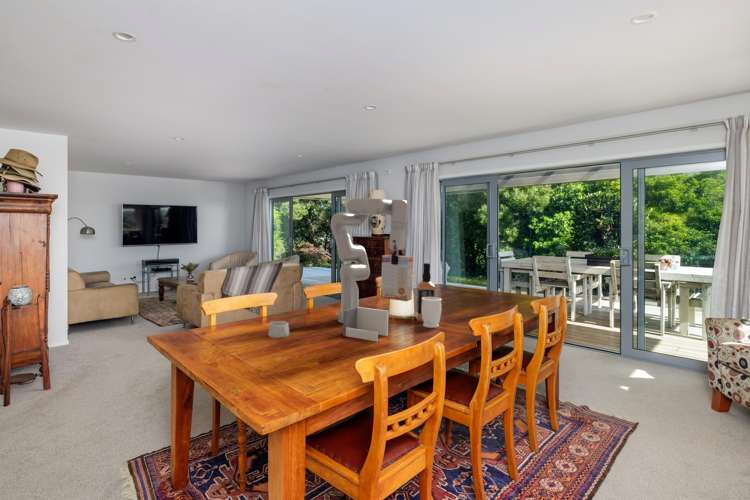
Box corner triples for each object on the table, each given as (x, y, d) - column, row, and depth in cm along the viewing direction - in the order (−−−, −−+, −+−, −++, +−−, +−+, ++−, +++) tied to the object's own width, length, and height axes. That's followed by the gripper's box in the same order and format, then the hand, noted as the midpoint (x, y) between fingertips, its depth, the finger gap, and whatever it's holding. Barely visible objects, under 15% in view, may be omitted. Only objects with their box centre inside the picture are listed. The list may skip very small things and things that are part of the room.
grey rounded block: (264, 335, 192) (264, 322, 191) (283, 331, 198) (283, 319, 197) (276, 341, 182) (276, 328, 182) (295, 337, 188) (295, 324, 188)
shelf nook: (343, 335, 193) (343, 310, 192) (355, 330, 203) (356, 306, 203) (376, 341, 185) (377, 315, 184) (387, 335, 195) (388, 310, 194)
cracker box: (412, 299, 193) (413, 256, 191) (406, 301, 187) (408, 257, 186) (386, 296, 199) (387, 254, 198) (380, 298, 194) (381, 254, 192)
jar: (428, 329, 208) (429, 300, 207) (417, 324, 217) (417, 297, 216) (444, 327, 212) (445, 299, 211) (433, 322, 222) (434, 295, 221)
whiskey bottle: (435, 321, 225) (436, 264, 222) (417, 321, 225) (418, 264, 223) (432, 317, 235) (434, 262, 233) (415, 316, 235) (417, 262, 233)
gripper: (398, 225, 200) (396, 261, 201) (384, 225, 184) (382, 264, 186) (412, 226, 197) (411, 262, 198) (399, 226, 181) (397, 266, 183)
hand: (397, 263), depth 192 cm, fingers closed on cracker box, 6 cm apart
